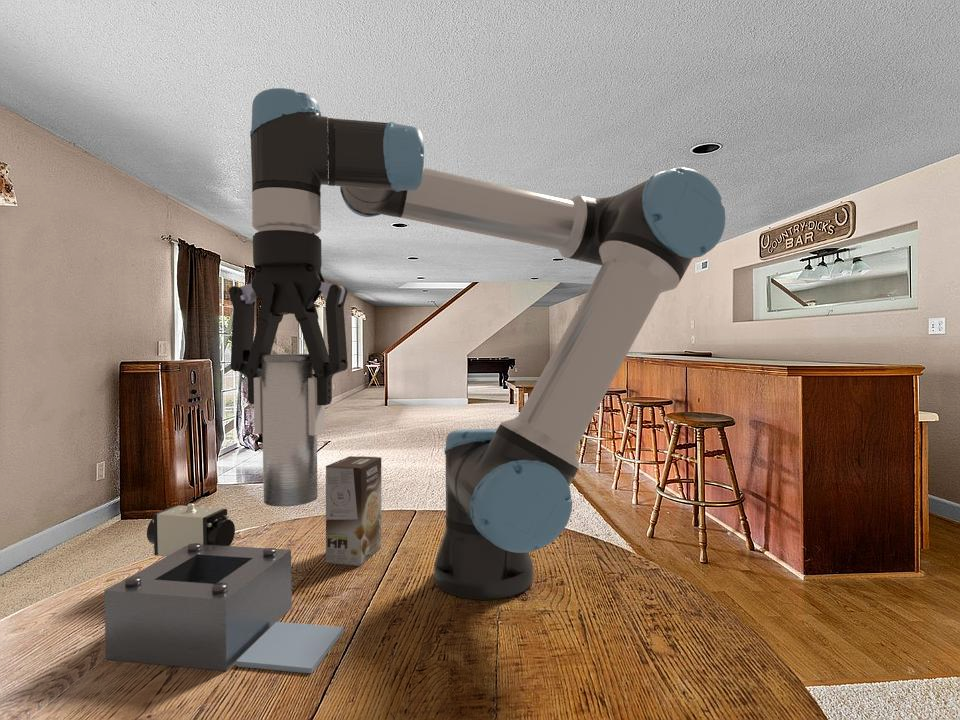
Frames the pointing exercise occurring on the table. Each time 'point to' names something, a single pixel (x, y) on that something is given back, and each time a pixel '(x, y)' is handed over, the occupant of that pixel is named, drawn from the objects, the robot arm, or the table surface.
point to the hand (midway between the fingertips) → (290, 432)
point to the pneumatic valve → (189, 528)
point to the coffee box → (353, 510)
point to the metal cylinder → (287, 431)
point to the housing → (198, 606)
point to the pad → (291, 647)
